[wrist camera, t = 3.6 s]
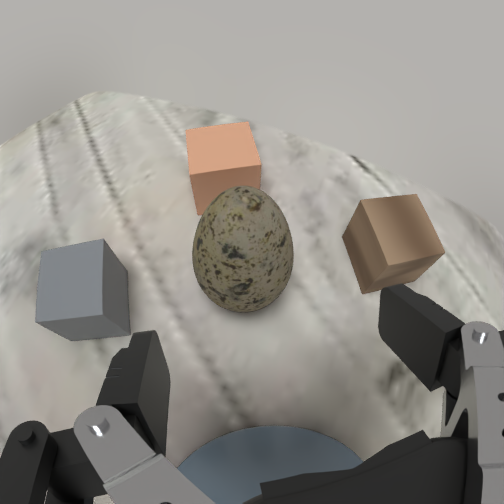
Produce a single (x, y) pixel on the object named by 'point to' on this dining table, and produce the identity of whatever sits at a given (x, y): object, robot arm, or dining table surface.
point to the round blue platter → (261, 460)
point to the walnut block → (390, 241)
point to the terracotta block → (221, 161)
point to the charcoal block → (83, 292)
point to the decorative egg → (243, 250)
